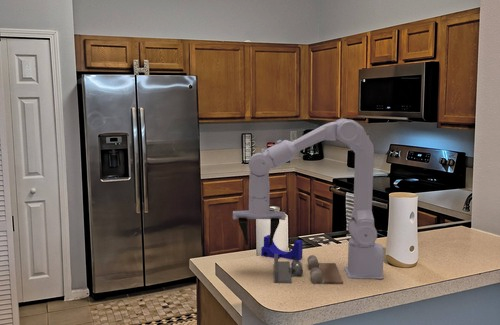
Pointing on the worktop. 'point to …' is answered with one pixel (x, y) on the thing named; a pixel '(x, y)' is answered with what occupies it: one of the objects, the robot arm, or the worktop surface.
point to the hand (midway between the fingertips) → (258, 244)
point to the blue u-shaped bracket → (272, 250)
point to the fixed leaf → (323, 272)
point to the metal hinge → (286, 270)
